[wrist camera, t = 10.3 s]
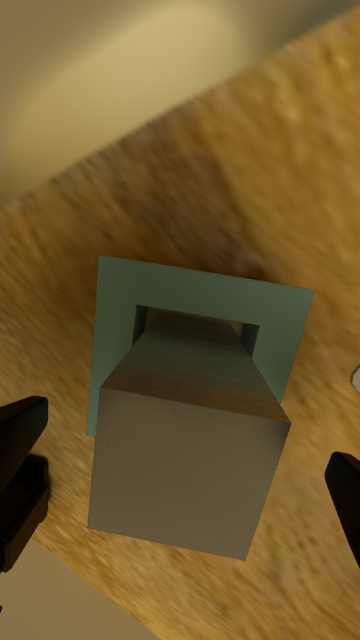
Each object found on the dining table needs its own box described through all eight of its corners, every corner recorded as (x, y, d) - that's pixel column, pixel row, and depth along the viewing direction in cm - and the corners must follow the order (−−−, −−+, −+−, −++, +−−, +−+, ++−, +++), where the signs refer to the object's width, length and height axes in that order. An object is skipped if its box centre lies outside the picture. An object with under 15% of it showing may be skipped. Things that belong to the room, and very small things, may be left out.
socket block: (112, 395, 17) (86, 435, 13) (125, 258, 14) (98, 255, 10) (245, 420, 16) (261, 467, 12) (281, 284, 14) (314, 290, 10)
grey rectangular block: (150, 375, 15) (87, 527, 6) (160, 311, 14) (99, 386, 5) (216, 387, 15) (245, 560, 6) (230, 323, 14) (291, 423, 5)
